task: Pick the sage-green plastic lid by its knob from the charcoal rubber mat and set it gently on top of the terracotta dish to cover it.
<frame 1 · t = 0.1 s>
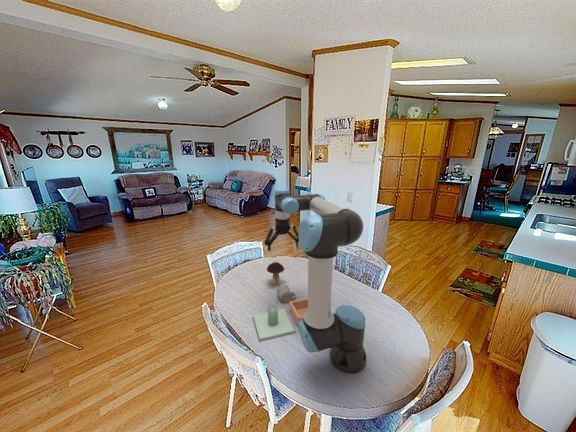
hand: (283, 254, 142), 28 cm above the table, fingers open, 13 cm apart
decorative mushroom: (275, 284, 165), on the table
mat: (273, 325, 129), on the table
lid: (273, 324, 129), resting on mat
dish: (306, 316, 135), on the table
ceramic mug: (286, 299, 150), on the table
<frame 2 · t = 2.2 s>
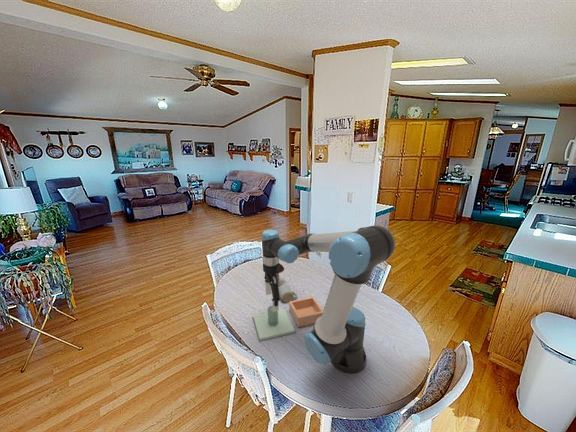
hand: (272, 302, 125), 13 cm above the table, fingers open, 13 cm apart
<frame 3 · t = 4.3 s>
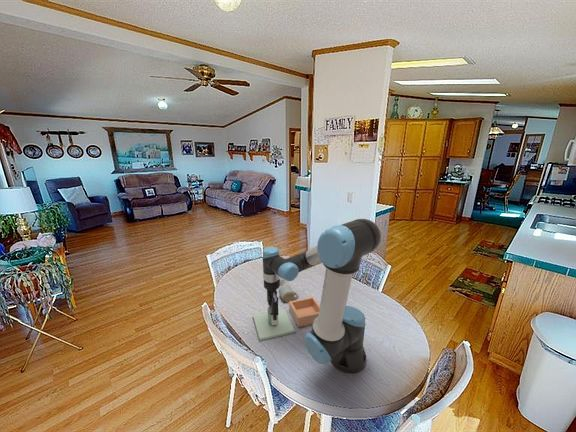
hand: (273, 320, 128), 3 cm above the table, fingers closed on lid, 5 cm apart
lid: (273, 324, 129), resting on mat, touching gripper
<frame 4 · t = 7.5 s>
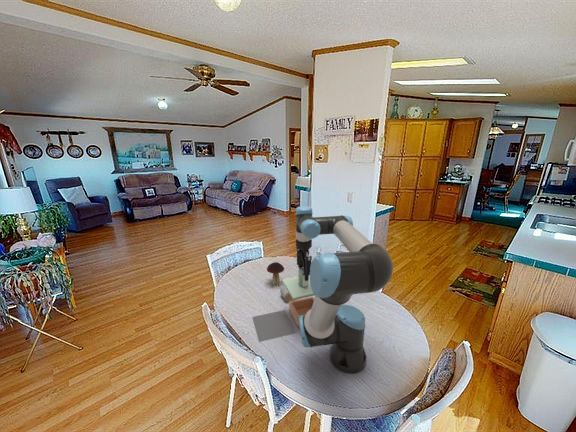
hand: (303, 282, 128), 21 cm above the table, fingers closed on lid, 5 cm apart
lid: (303, 286, 129), point 18 cm above the table, touching gripper
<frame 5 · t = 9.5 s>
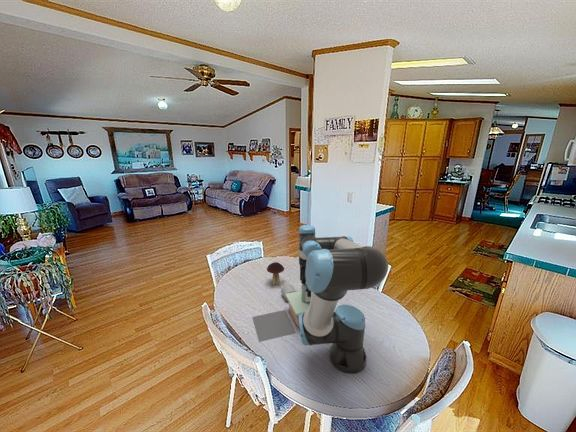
hand: (306, 297, 132), 11 cm above the table, fingers closed on lid, 5 cm apart
lid: (306, 302, 132), point 9 cm above the table, touching gripper
when the fingers open (9 cm above the table, at t = 11.0 s): lid stays where it is, resting on dish.
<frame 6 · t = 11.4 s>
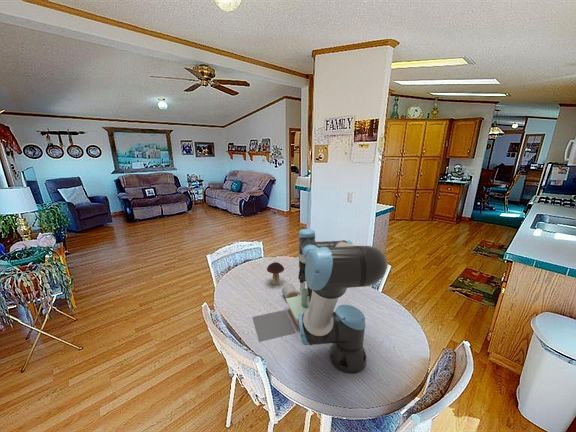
hand: (306, 299, 132), 10 cm above the table, fingers open, 10 cm apart
lid: (306, 306, 133), point 6 cm above the table, touching dish
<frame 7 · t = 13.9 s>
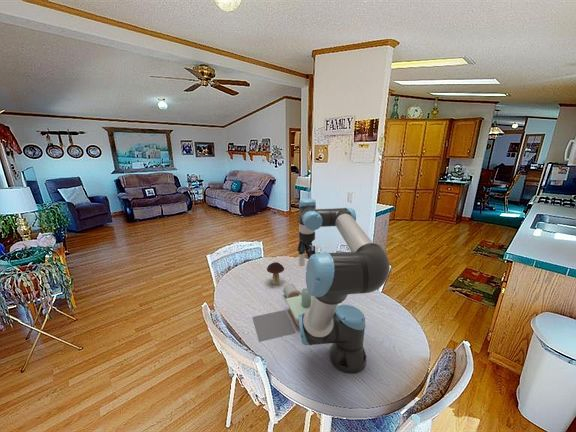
hand: (306, 272, 127), 26 cm above the table, fingers open, 13 cm apart
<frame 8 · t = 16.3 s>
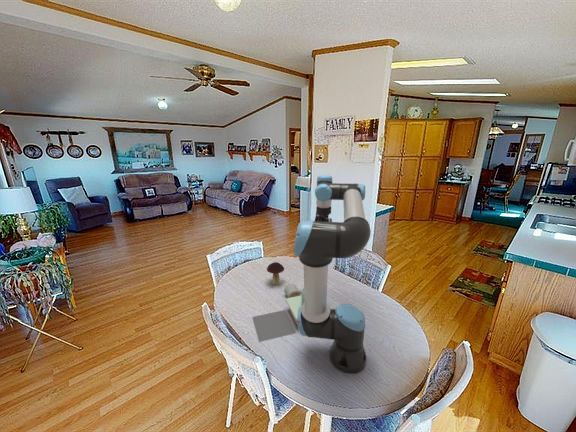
hand: (322, 244, 137), 35 cm above the table, fingers open, 13 cm apart
at the end: lid 0.0 cm off-centre on the dish, point 6.0 cm above the dish's base; lid tilted 0°; the gripper is holding nothing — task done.
